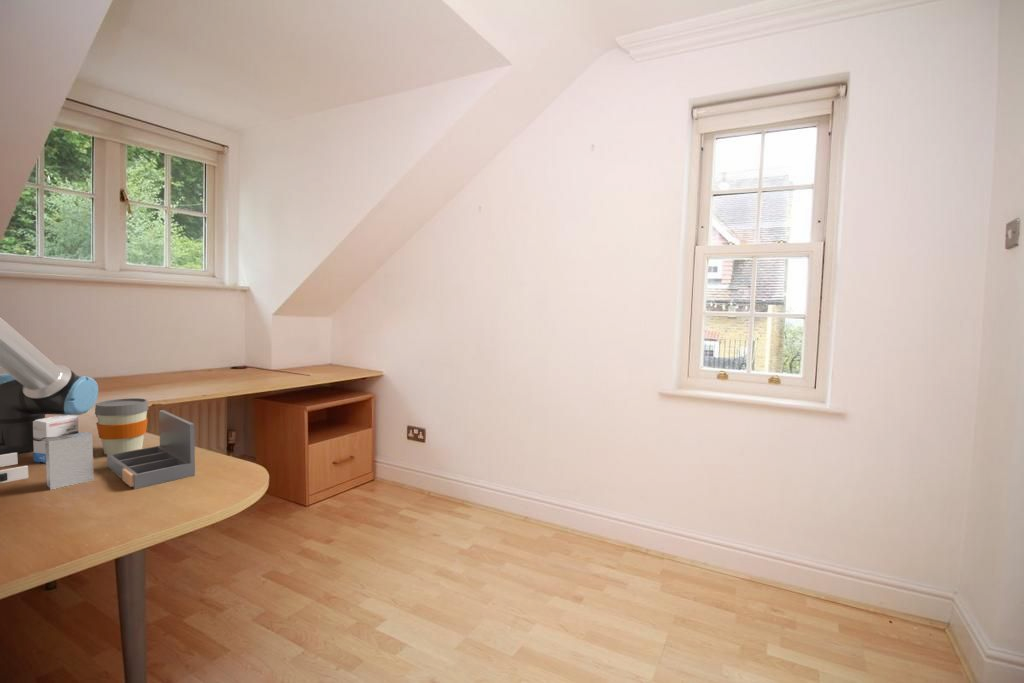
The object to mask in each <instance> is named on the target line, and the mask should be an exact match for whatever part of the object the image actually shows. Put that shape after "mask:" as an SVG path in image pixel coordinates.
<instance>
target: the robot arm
mask: <svg viewBox="0 0 1024 683" xmlns="http://www.w3.org/2000/svg"><path fill="white" fill-rule="evenodd" d="M0 369H1V370H2V371H3V372H5V373H0V468H2V467H7V466H14V465H18V454H20V453H26V452H27V451H28V452H31V451H32V450H33V451H34V446H33V421H35V420H38V419H43V418H46V415H54V416H60V415H72V416H80V415H83V414H85V413H88V411H90V410H91V409H92V408H93V407H94V406H95V405H96V402H97V400H98V397H99V386H98V382H97V381H96V380H95V379H94V378H92V377H90V376H87V375H82V376H80V375H77V373H75V372H74V371H72V370H71V369H70V368H69V367H68V366H66V365H63V364H55V363H54V362H53V361H52V360H50V359H49V358H48V357H47V356H46V355H45V354H43V353H42V352H41V350H39V349H38V348H37V347H35V345H34V344H32V343H31V342H29V341H28V339H26V338H25V337H24V336H22V335H21V333H19V332H18V331H17V330H16V329H14V327H13V326H11V325H10V324H9V323H8V322H7V321H5V320H4V319H3V318H2V317H1V316H0ZM26 479H29V466H28V465H23V466H17V467H12V468H6V469H1V470H0V484H3V483H8V482H15V481H19V480H26Z"/></svg>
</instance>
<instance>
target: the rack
mask: <svg viewBox="0 0 1024 683" xmlns="http://www.w3.org/2000/svg"><path fill="white" fill-rule="evenodd" d="M158 416H159V418H158V420H159V422H158V423H159V427H158V428H159V445H155V446H152V447H143V448H142V449H138V450H133V451H127V452H122V453H116V454H110V455H106V456H107V458H106V459H107V468H108V467H109V468H110V469H111V470H112V471H111V470H110V469H109V468H108V469H109V470H110V471H111V472H113V473H114V472H115V473H116V474H117V475H116V474H115V473H114V474H115V475H116V476H118V477H119V476H120V477H121V478H122V479H121V478H120V477H119V478H120V479H121V480H122V482H124V483H125V484H126V485H128V486H129V487H130V488H133V489H134V490H137V489H136V488H138V489H141V488H140V487H142V488H146V486H147V487H150V485H151V486H155V485H159V484H163V483H167V482H172V481H176V479H177V480H181V479H184V478H185V479H186V478H189V477H188V476H190V477H193V475H194V476H196V460H195V459H196V458H195V457H196V455H195V454H196V453H195V452H196V451H195V450H196V449H195V448H196V447H195V446H196V445H195V443H196V442H195V423H193V422H191V421H189V420H187V419H185V418H182V417H180V416H177V415H175V414H173V413H170V412H169V411H167V410H164V409H161V410H158Z"/></svg>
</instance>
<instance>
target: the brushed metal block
mask: <svg viewBox="0 0 1024 683" xmlns="http://www.w3.org/2000/svg"><path fill="white" fill-rule="evenodd" d="M93 442H94V441H93V434H92V433H90V432H89V431H85V432H80V433H78V434H71V435H64V436H57V437H50V438H45V447H46V463H45V466H46V467H45V469H46V472H45V473H46V486H48V487H49V488H50V489H49V488H48V487H47V488H48V489H49V490H50V491H53V490H52V489H54V490H57V489H56V488H59V489H61V488H60V487H64V486H68V487H70V486H69V485H73V486H75V485H74V484H78V483H83V482H87V483H89V482H88V481H92V480H94V479H95V478H94V450H93V449H94V447H93ZM92 482H93V481H92ZM83 484H84V483H83ZM78 485H79V484H78ZM64 488H65V487H64Z"/></svg>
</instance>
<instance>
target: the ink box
mask: <svg viewBox="0 0 1024 683" xmlns="http://www.w3.org/2000/svg"><path fill="white" fill-rule="evenodd" d="M78 433H79V415H54V416H50V417H45V418H43V419H38V420H35V421H33V446H34V450H33V462H34V461H35V462H34V463H40V462H43V464H46V447H45V438H50V437H57V436H64V435H71V434H78Z"/></svg>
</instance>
